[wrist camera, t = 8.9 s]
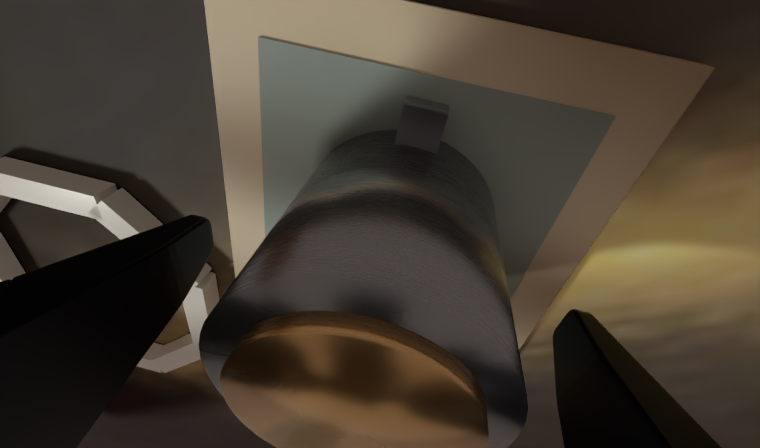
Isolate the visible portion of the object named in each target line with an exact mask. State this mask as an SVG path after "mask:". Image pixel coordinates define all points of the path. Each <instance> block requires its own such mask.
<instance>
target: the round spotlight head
mask: <svg viewBox="0 0 760 448" xmlns="http://www.w3.org/2000/svg"><path fill="white" fill-rule="evenodd" d="M448 115H449V105H447V104H443V103H438V102H434V101H430V100H426V99H421V98H417V97H413V96H409V95H407V96H406V99H405V101H404V104H403V108H402V113H401V117H400V122H399V127H398V130H382V131H374V132H370V133H365V134H362V135H359V136H357V137H354V138H351V139H349V140H347V141H346V142H344V143H342V144H340V145H339V146H337V147H336V148H335V149H333V150H332V151H331V152H330V153H329V154H328V155H327V156H326V157H325V158H324V159H323V160H322V161H321V163H320V164H319V165H318V167H317V168H316V170H315V171H314V172H313V174H312V175H311V176H310V178H309V179H308V180H307V182H306V183H305V185H304V186H303V187H302V189H301V190H300V191H299V193H298V194H297V195H296V197H295V198H294V200H293V201H292V202H291V204H290V205H289V206H288V208H287V209H286V210H285V212H284V213H283V214H282V216H281V217H280V219H279V220H278V221H277V223H276V224H275V225H274V227H273V228H272V229H271V231H270V232H269V234H268V235H267V236H266V238H265V239H264V240H263V242H262V243H261V244H260V246H259V247H258V249H257V250H256V251H255V253H254V254H253V255H252V257H251V258H250V259H249V261H248V262H247V263H246V265H245V266H244V268H243V269H242V270H241V272H240V273H239V274H238V276H237V277H236V278H235V280H234V281H233V283H232V284H231V285H230V287H229V288H228V289H227V291H226V292H225V293H224V295H223V296H222V298H221V299H220V300H219V302H218V303H217V304H216V306H215V307H214V308H213V310H212V311H211V313H210V314H209V315H208V317H207V318H206V320H205V321H204V324H203V326H202V329H201V332H200V337H199V351H200V358H201V361H202V364H203V367H204V369H205V371H206V373H207V375H208V377H209V379H210V380H211V382H212V383H213V385H214V386H215V387H216V389H217V390H218V391H219V392H220V394H221V395H222V396H223V397H224V399H225V401H226V403H227V405H228V406H229V407H230V409H231V410H232V412H233V413H234V414H235V415H236V416H237V418H238V419H239V420H240V421H241V422H242V423H243V424H244V425H245V426H247V427H248V428H249V429H250V430H251V431H253V432H254V433H255V434H256V435H258V436H259V437H260V438H262V439H264V440H265V441H267V442H268V443H270V444H271V445H273V446H275V447H277V448H507V447H508V446H509V445H510V444H511V443H512V442H513V441H514V440H515V439H516V438H517V436H518V435H519V434H520V432H521V431H522V428H523V426H524V424H525V422H526V417H527V411H528V403H527V394H526V388H525V382H524V377H523V371H522V365H521V359H520V353H519V348H518V342H517V336H516V330H515V325H514V319H513V313H512V307H511V301H510V296H509V290H508V284H507V278H506V273H505V267H504V261H503V255H502V250H501V244H500V238H499V232H498V226H497V221H496V215H495V209H494V203H493V199H492V196H491V192H490V190H489V188H488V185H487V183H486V181H485V179H484V178H483V176H482V175H481V173H480V172H479V170H478V169H477V168H476V167H475V166H474V165H473V163H472V162H471V161H470V160H469V159H468V158H467V157H465V156H464V155H463V154H462V153H461V152H459V151H458V150H457V149H455V148H453V147H452V146H450V145H449V144H447V143H445V142H443V141H441V138H442V135H443V132H444V128H445V125H446V122H447V118H448Z"/></svg>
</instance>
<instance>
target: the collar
mask: <svg viewBox="0 0 760 448" xmlns="http://www.w3.org/2000/svg"><path fill="white" fill-rule="evenodd" d="M11 198H15V199H19V200H23V201H27V202H31V203H35V204H39V205H43V206H47V207H51V208H55V209H59V210H63V211H67V212H71V213H75V214H79V215H83V216H87V217H90V218H94V219H96V220H98V221H99V222H100V223H101V224H102V225H104V226H105V227H106V228H107V229H108V230H110V231H111V232H112V233H113V234H115V235H116V236H117V237H118V238H119V239H124V238H127V237H130V236H132V235H135V234H138V233H141V232H144V231H147V230H149V229H152V228H155V227H158V226H161V225H163V224H162V223H161V222H160V221H159V220H158V219H157V218H156V217H155V216H153V215H152V214H151V213H150V212H149V211H148V210H147V209H146V208H145V207H143V206H142V205H141V204H140V203H139V202H138V201H137V200H136V199H134V198H133V197H132V196H131V195H130V194H129V193H128V192H127V191H126V190H124V189H123V188H121V189H119V190H117V187H116V184H115V183H111V182H107V181H103V180H98V179H94V178H90V177H86V176H82V175H78V174H74V173H70V172H66V171H62V170H58V169H54V168H50V167H46V166H42V165H38V164H34V163H30V162H25V161H21V160H17V159H13V158H9V157H5V156H4V157H2V158H0V213H1V211H2V210H3V209H4V207H5V206H6V205H7V204H8V202H9V201H10V200H11ZM211 269H212V268H211V267H210V266H209V265H208V264H207V263H206V264H205V265H204V267H203V269H202V270H201V272H200V274H199V276H198V277H197V279H196V281H195V283H194V284H193V286H192V288H191V289H190V291H189V293H188V295H187V296H186V298H185V300H184V301H183V306H184V310H185V314H186V318H187V322H188V326H189V330H190V334H188V335H185V336H183V337H181V338H179V339H177V340H174V341H172V342H170V343H168V344H165V345H161V344H157V343H153V344H152V345H151V347H150V348H149V350H148V351H147V352H146V354H145V355H144V356H143V358H142V359H141V360H140V362H139V363H138V365H137V367H141V368H145V369H148V370H152V371H156V372H159V373H161V372H162V371H163V372H164V373H166V372H169V371H171V370H174V369H177V368H179V367H182V366H185V365H187V364H190V363H192V362H195V361H198V360H200V359H201V358H200V351H199V337H200V332H201V329H202V326H203V324H204V321H205V320H206V318H207V317H208V315H209V314H210V313H211V311H212V310H213V308H214V307H215V306H216V304H217V303H218V302H219V293H218V287H217V281H216V274H215V273H213V272H210V270H211ZM22 274H25V271H24V269H23V268H22V266H21V265H20V263H19V261H18V260H17V258H16V256H15V255H14V253H13V251H12V250H11V248H10V247H9V245H8V243H7V242H6V240H5V238H4V237H3V235H2V234H1V232H0V282H2V281H4V280H7V279H10V280H12V279H13V278H14V277H16V276H19V275H22Z"/></svg>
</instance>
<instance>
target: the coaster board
mask: <svg viewBox="0 0 760 448" xmlns="http://www.w3.org/2000/svg"><path fill="white" fill-rule="evenodd" d="M204 4H205V13H206V22H207V31H208V40H209V48H210V57H211V66H212V75H213V84H214V93H215V102H216V111H217V120H218V128H219V137H220V146H221V155H222V164H223V173H224V182H225V191H226V200H227V208H228V217H229V226H230V235H231V244H232V253H233V262H234V271H235V278H236V277H237V276H238V274H239V273H240V272H241V270H242V269H243V268H244V266H245V265H246V263H247V262H248V261H249V259H250V258H251V257H252V255H253V254H254V253H255V251H256V250H257V249H258V247H259V246H260V244H261V243H262V242H263V240H264V239H265V238H266V236H267V235H268V234H269V232H270V231H271V229H272V228H273V227H274V225H275V224H276V223H277V221H278V220H279V219H280V217H281V216H282V214H283V213H284V212H285V210H286V209H287V208H288V206H289V205H290V204H291V202H292V201H293V200H294V198H295V197H296V195H297V194H298V193H299V191H300V190H301V189H302V187H303V186H304V185H305V183H306V182H307V180H308V179H309V178H310V176H311V175H312V174H313V172H314V171H315V170H316V168H317V167H318V165H319V164H320V163H321V161H322V160H323V159H324V158H325V157H326V156H327V155H328V154H329V153H330V152H331V151H332V150H333V149H335V148H336V147H337V146H339V145H340V144H342V143H344V142H346V141H347V140H349V139H351V138H354V137H357V136H359V135H362V134H365V133H370V132H374V131H382V130H398V127H399V122H400V117H401V113H402V108H403V104H404V101H405V99H406V96H407V95H409V96H413V97H417V98H421V99H426V100H430V101H434V102H438V103H443V104H447V105H449V115H448V118H447V122H446V125H445V128H444V132H443V135H442V138H441V141H443V142H445V143H447V144H449V145H450V146H452V147H453V148H455V149H457V150H458V151H459V152H461V153H462V154H463V155H464V156H465V157H467V158H468V159H469V160H470V161H471V162H472V163H473V165H474V166H475V167H476V168H477V169H478V170H479V172H480V173H481V175H482V176H483V178H484V179H485V181H486V183H487V185H488V188H489V190H490V192H491V196H492V199H493V203H494V209H495V215H496V221H497V226H498V232H499V238H500V244H501V250H502V255H503V261H504V267H505V273H506V278H507V284H508V290H509V296H510V301H511V307H512V313H513V319H514V325H515V330H516V336H517V342H518V348H519V349H520V348H521V346H522V345H523V343H524V342H525V341H526V339H527V338H528V336H529V335H530V333H531V332H532V330H533V329H534V328H535V326H536V325H537V323H538V322H539V320H540V319H541V317H542V316H543V315H544V313H545V312H546V310H547V309H548V307H549V306H550V305H551V303H552V302H553V300H554V299H555V297H556V296H557V294H558V293H559V292H560V290H561V289H562V287H563V286H564V284H565V283H566V282H567V280H568V279H569V277H570V276H571V274H572V273H573V271H574V270H575V269H576V267H577V266H578V264H579V263H580V261H581V260H582V259H583V257H584V256H585V254H586V253H587V251H588V250H589V248H590V247H591V246H592V244H593V243H594V241H595V240H596V238H597V237H598V235H599V234H600V233H601V231H602V230H603V228H604V227H605V225H606V224H607V223H608V221H609V220H610V218H611V217H612V215H613V214H614V212H615V211H616V210H617V208H618V207H619V205H620V204H621V202H622V201H623V200H624V198H625V197H626V195H627V194H628V192H629V191H630V189H631V188H632V187H633V185H634V184H635V182H636V181H637V179H638V178H639V176H640V175H641V174H642V172H643V171H644V169H645V168H646V166H647V165H648V164H649V162H650V161H651V159H652V158H653V156H654V155H655V153H656V152H657V151H658V149H659V148H660V146H661V145H662V143H663V142H664V141H665V139H666V138H667V136H668V135H669V133H670V132H671V130H672V129H673V128H674V126H675V125H676V123H677V122H678V120H679V119H680V118H681V116H682V115H683V113H684V112H685V110H686V109H687V107H688V106H689V105H690V103H691V102H692V100H693V99H694V97H695V96H696V94H697V93H698V92H699V90H700V89H701V87H702V86H703V84H704V83H705V82H706V80H707V79H708V77H709V76H710V74H711V73H712V71H713V70H714V69H715V67H713V66H710V65H707V64H703V63H699V62H694V61H689V60H685V59H680V58H675V57H671V56H666V55H661V54H657V53H652V52H647V51H643V50H638V49H633V48H629V47H624V46H619V45H615V44H610V43H605V42H601V41H596V40H591V39H587V38H582V37H577V36H573V35H568V34H563V33H559V32H554V31H549V30H545V29H540V28H535V27H531V26H526V25H521V24H517V23H512V22H507V21H503V20H498V19H493V18H489V17H484V16H479V15H475V14H470V13H465V12H461V11H456V10H451V9H446V8H442V7H437V6H432V5H428V4H423V3H418V2H414V1H409V0H204Z"/></svg>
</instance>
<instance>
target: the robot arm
mask: <svg viewBox="0 0 760 448" xmlns="http://www.w3.org/2000/svg"><path fill="white" fill-rule="evenodd" d="M213 247H214V241H213V234H212V228H211V222H210V220H209V219H207V218H205V217H201V216H197V215H189V216H186V217H183V218H181V219H178V220H175V221H172V222H169V223H166V224H164V225H161V226H158V227H155V228H152V229H149V230H147V231H144V232H141V233H138V234H135V235H132V236H130V237H127V238H124V239H121V240H118V241H115V242H113V243H110V244H107V245H104V246H101V247H98V248H96V249H93V250H90V251H87V252H84V253H81V254H78V255H76V256H73V257H70V258H67V259H64V260H61V261H59V262H56V263H53V264H50V265H47V266H44V267H42V268H39V269H36V270H33V271H30V272H27V273H25V274H22V275H19V276H16V277H14V278H13V279H12V280H10V279H7V280H4V281H2V282H0V448H77V446H78V445H79V444H80V442H81V441H82V439H83V438H84V437H85V435H86V434H87V433H88V431H89V430H90V429H91V427H92V426H93V424H94V423H95V422H96V420H97V419H98V418H99V416H100V415H101V414H102V412H103V411H104V409H105V408H106V407H107V405H108V404H109V403H110V401H111V400H112V399H113V397H114V396H115V394H116V393H117V392H118V390H119V389H120V388H121V386H122V385H123V384H124V382H125V381H126V379H127V378H128V377H129V375H130V374H131V373H132V371H133V370H134V369H135V367H136V366H137V365H138V363H139V362H140V360H141V359H142V358H143V356H144V355H145V354H146V352H147V351H148V350H149V348H150V347H151V345H152V344H153V343H154V341H155V340H156V339H157V337H158V336H159V335H160V333H161V332H162V330H163V329H164V328H165V326H166V325H167V324H168V322H169V321H170V320H171V318H172V317H173V315H174V314H175V313H176V311H177V310H178V308H179V307H180V306H181V304H182V303H183V301H184V300H185V298H186V296H187V295H188V293H189V291H190V289H191V288H192V286H193V284H194V283H195V281H196V279H197V277H198V276H199V274H200V272H201V270H202V269H203V267H204V265H205V264H206V262H207V260H208V258H209V257H210V255H211V253H212V251H213ZM553 351H554V368H555V385H556V397H557V405H558V412H559V418H560V424H561V429H562V435H563V441H564V447H565V448H722V447H721V446H720V445H719V444H718V443H717V442H716V441H715V440H714V439H713V438H712V437H711V436H710V435H709V434H708V433H707V432H706V431H705V430H704V429H703V428H702V427H701V426H700V425H699V424H698V423H697V422H696V421H695V420H694V419H693V418H692V417H691V416H690V415H689V414H688V412H687V411H686V410H685V409H684V408H683V407H682V406H681V405H680V404H679V403H678V402H677V401H676V400H675V399H674V398H673V397H672V396H671V395H670V394H669V393H668V392H667V391H666V390H665V389H664V388H663V387H662V386H661V385H660V384H659V383H658V382H657V381H656V380H655V379H654V378H653V377H652V376H651V375H650V374H649V373H648V371H647V370H646V369H645V368H644V367H643V366H642V365H641V364H640V363H639V362H638V361H637V360H636V359H635V358H634V357H633V356H632V355H631V354H630V353H629V352H628V351H627V350H626V349H625V348H624V347H623V346H622V345H621V344H620V343H619V342H618V341H617V340H616V339H615V338H614V337H613V336H612V335H611V334H610V333H609V332H608V330H607V329H606V328H605V327H604V326H603V325H602V324H601V323H600V322H599V321H598V320H597V319H596V318H595V317H594V316H593V315H592V314H590V313H588V312H584V311H580V310H575V309H573V310H570V311H569V312H568V313H567V314H566V316H565V317H564V318H563V320H562V321H561V322H560V324H559V325H558V326H557V328H556V329H555V331H554V334H553Z"/></svg>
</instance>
